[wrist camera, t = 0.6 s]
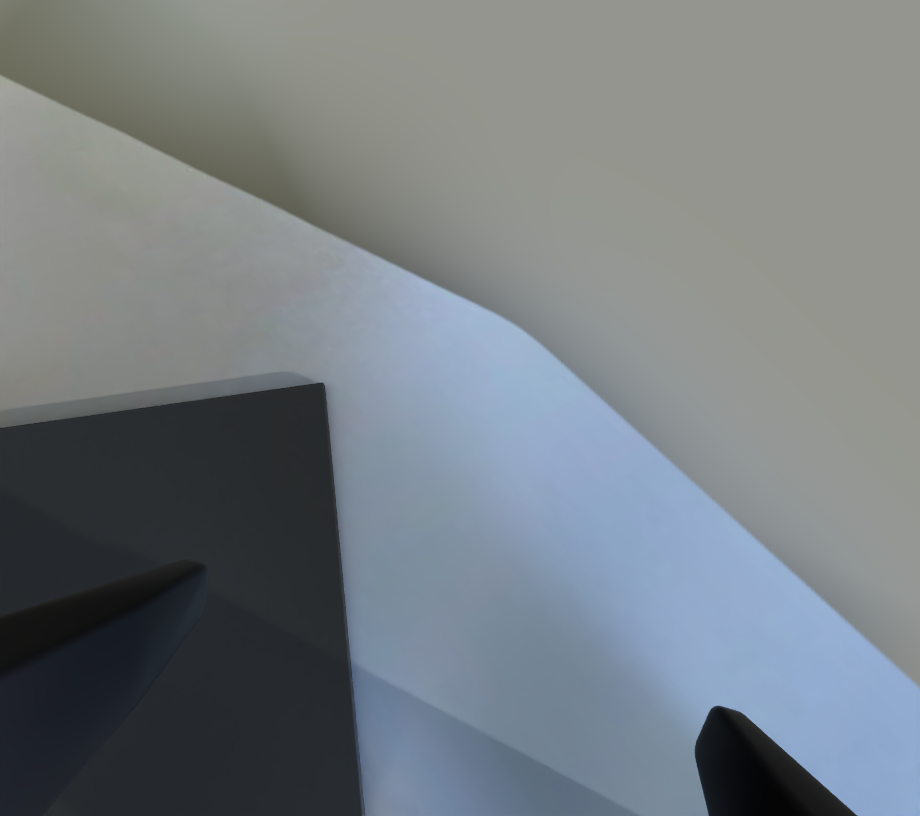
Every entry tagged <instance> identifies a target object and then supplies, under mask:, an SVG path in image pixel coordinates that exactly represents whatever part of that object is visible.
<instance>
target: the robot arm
mask: <svg viewBox="0 0 920 816" xmlns="http://www.w3.org/2000/svg"><path fill="white" fill-rule="evenodd" d="M208 579H209V568H208V566H207V565H206V564H203V563H199V562H196V561H192V560H187V559H185V560H180V561H177V562H174V563H171V564H167V565H164V566H161V567H158V568H154V569H151V570H148V571H145V572H141V573H138V574H135V575H132V576H128V577H125V578H122V579H119V580H115V581H112V582H109V583H106V584H102V585H99V586H96V587H93V588H89V589H86V590H83V591H80V592H76V593H73V594H70V595H66V596H63V597H60V598H57V599H53V600H50V601H47V602H44V603H40V604H37V605H34V606H31V607H27V608H24V609H21V610H18V611H14V612H11V613H8V614H4V615H1V616H0V816H43V815H44V814H45V813H46V812H47V811H48V809H49V808H50V807H51V806H52V805H53V804H54V802H55V801H56V800H57V799H58V798H59V797H60V795H61V794H62V793H63V792H64V791H65V790H66V788H67V787H68V786H69V785H70V784H71V783H72V781H73V780H74V779H75V778H76V777H77V776H78V774H79V773H80V772H81V771H82V770H83V769H84V767H85V766H86V765H87V764H88V763H89V762H90V760H91V759H92V758H93V757H94V756H95V754H96V753H97V752H98V751H99V750H100V749H101V747H102V746H103V745H104V744H105V743H106V742H107V740H108V739H109V738H110V737H111V736H112V735H113V733H114V732H115V731H116V730H117V729H118V728H119V726H120V725H121V724H122V723H123V722H124V721H125V719H126V718H127V717H128V716H129V715H130V713H131V712H132V711H133V710H134V708H135V707H136V706H137V705H138V703H139V702H140V701H141V699H142V698H143V697H144V695H145V694H146V693H147V691H148V690H149V689H150V687H151V686H152V685H153V683H154V682H155V680H156V679H157V677H158V676H159V675H160V673H161V672H162V670H163V669H164V668H165V666H166V665H167V663H168V662H169V661H170V659H171V658H172V656H173V655H174V654H175V652H176V651H177V649H178V648H179V647H180V645H181V644H182V642H183V641H184V640H185V638H186V637H187V635H188V634H189V633H190V631H191V630H192V628H193V627H194V626H195V624H196V623H197V621H198V620H199V618H200V616H201V615H202V612H203V610H204V607H205V601H206V594H207V587H208ZM695 758H696V763H697V768H698V772H699V776H700V780H701V784H702V789H703V793H704V797H705V801H706V805H707V810H708V814H709V816H857V815H856V814H855V813H854V812H852V811H851V810H850V809H849V808H848V807H847V806H846V805H845V804H843V803H842V802H841V801H840V800H839V799H838V798H837V797H836V796H834V795H833V794H832V793H831V792H830V791H829V790H828V789H827V788H826V787H824V786H823V785H822V784H821V783H820V782H819V781H818V780H817V779H815V778H814V777H813V776H812V775H811V774H810V773H809V772H808V771H807V770H805V769H804V768H803V767H802V766H801V765H800V764H799V763H798V762H796V761H795V760H794V759H793V758H792V757H791V756H790V755H789V754H787V753H786V752H785V751H784V750H783V749H782V748H781V747H780V746H779V745H777V744H776V743H775V742H774V741H773V740H772V739H771V738H770V737H768V736H767V735H766V734H765V733H764V732H763V731H762V730H761V729H759V728H758V727H757V726H756V725H755V724H754V723H753V722H752V721H751V720H749V719H748V718H747V717H746V716H745V715H744V714H742V713H741V712H739V711H736V710H732V709H729V708H725V707H722V706H715V707H713V708H712V709H711V710H710V712H709V714H708V716H707V718H706V721H705V723H704V725H703V727H702V730H701V732H700V734H699V736H698V739H697V741H696V745H695Z"/></svg>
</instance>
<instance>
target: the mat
mask: <svg viewBox="0 0 920 816" xmlns="http://www.w3.org/2000/svg"><path fill="white" fill-rule="evenodd" d="M185 559H187V560H192V561H196V562H199V563H203V564H206V565H207V566H208V568H209V579H208V587H207V594H206V601H205V607H204V610H203V612H202V615H201V616H200V618H199V620H198V621H197V623H196V624H195V626H194V627H193V628H192V630H191V631H190V633H189V634H188V635H187V637H186V638H185V640H184V641H183V642H182V644H181V645H180V647H179V648H178V649H177V651H176V652H175V654H174V655H173V656H172V658H171V659H170V661H169V662H168V663H167V665H166V666H165V668H164V669H163V670H162V672H161V673H160V675H159V676H158V677H157V679H156V680H155V682H154V683H153V685H152V686H151V687H150V689H149V690H148V691H147V693H146V694H145V695H144V697H143V698H142V699H141V701H140V702H139V703H138V705H137V706H136V707H135V708H134V710H133V711H132V712H131V713H130V715H129V716H128V717H127V718H126V719H125V721H124V722H123V723H122V724H121V725H120V726H119V728H118V729H117V730H116V731H115V732H114V733H113V735H112V736H111V737H110V738H109V739H108V740H107V742H106V743H105V744H104V745H103V746H102V747H101V749H100V750H99V751H98V752H97V753H96V754H95V756H94V757H93V758H92V759H91V760H90V762H89V763H88V764H87V765H86V766H85V767H84V769H83V770H82V771H81V772H80V773H79V774H78V776H77V777H76V778H75V779H74V780H73V781H72V783H71V784H70V785H69V786H68V787H67V788H66V790H65V791H64V792H63V793H62V794H61V795H60V797H59V798H58V799H57V800H56V801H55V802H54V804H53V805H52V806H51V807H50V808H49V809H48V811H47V812H46V813H45V814H44V815H43V816H365V811H364V800H363V790H362V779H361V768H360V757H359V747H358V736H357V725H356V714H355V704H354V693H353V682H352V671H351V661H350V650H349V639H348V628H347V618H346V607H345V596H344V585H343V574H342V564H341V553H340V542H339V531H338V521H337V510H336V499H335V488H334V478H333V467H332V456H331V445H330V435H329V424H328V413H327V402H326V392H325V385H324V383H316V384H309V385H302V386H295V387H288V388H281V389H274V390H267V391H260V392H253V393H246V394H239V395H232V396H225V397H217V398H210V399H203V400H196V401H189V402H182V403H175V404H168V405H161V406H154V407H147V408H140V409H133V410H126V411H119V412H112V413H105V414H98V415H91V416H84V417H77V418H70V419H62V420H55V421H48V422H41V423H34V424H27V425H20V426H13V427H6V428H0V616H1V615H4V614H8V613H11V612H14V611H18V610H21V609H24V608H27V607H31V606H34V605H37V604H40V603H44V602H47V601H50V600H53V599H57V598H60V597H63V596H66V595H70V594H73V593H76V592H80V591H83V590H86V589H89V588H93V587H96V586H99V585H102V584H106V583H109V582H112V581H115V580H119V579H122V578H125V577H128V576H132V575H135V574H138V573H141V572H145V571H148V570H151V569H154V568H158V567H161V566H164V565H167V564H171V563H174V562H177V561H180V560H185Z"/></svg>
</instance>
